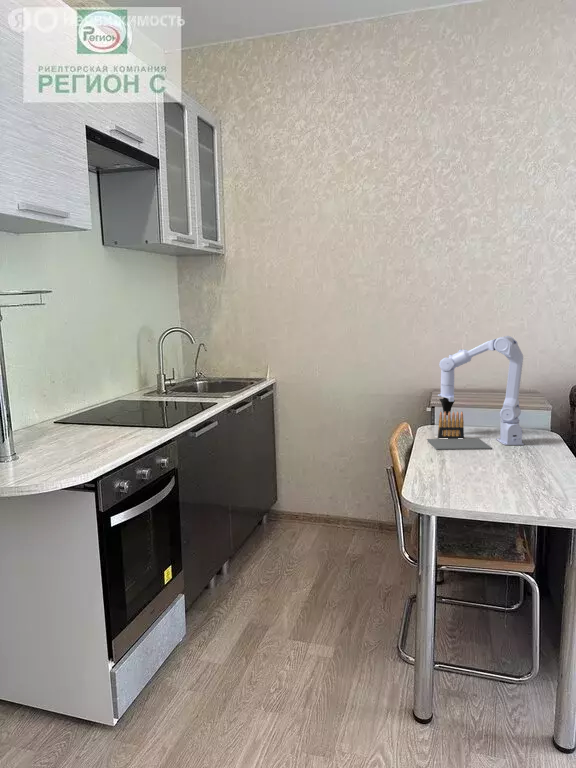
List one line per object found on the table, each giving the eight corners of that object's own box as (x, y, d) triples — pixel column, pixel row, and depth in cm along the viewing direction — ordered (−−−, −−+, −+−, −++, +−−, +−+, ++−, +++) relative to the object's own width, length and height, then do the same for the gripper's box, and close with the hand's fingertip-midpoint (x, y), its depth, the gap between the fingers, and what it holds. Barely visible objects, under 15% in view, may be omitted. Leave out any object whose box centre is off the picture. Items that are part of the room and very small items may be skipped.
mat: (492, 449, 213) (492, 447, 213) (436, 450, 214) (436, 448, 214) (478, 439, 229) (478, 438, 229) (426, 440, 230) (426, 439, 229)
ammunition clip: (463, 438, 233) (463, 410, 231) (463, 439, 231) (464, 411, 229) (437, 437, 234) (438, 410, 232) (438, 438, 232) (438, 411, 230)
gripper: (434, 382, 243) (433, 412, 245) (442, 387, 229) (442, 418, 231) (449, 382, 243) (449, 411, 245) (459, 386, 229) (458, 418, 231)
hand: (446, 415), depth 238 cm, fingers closed
